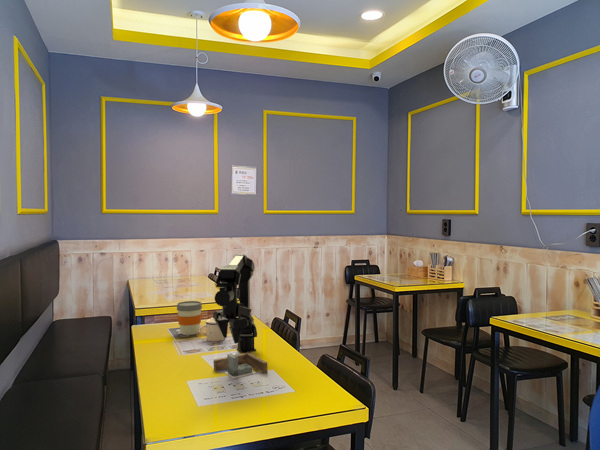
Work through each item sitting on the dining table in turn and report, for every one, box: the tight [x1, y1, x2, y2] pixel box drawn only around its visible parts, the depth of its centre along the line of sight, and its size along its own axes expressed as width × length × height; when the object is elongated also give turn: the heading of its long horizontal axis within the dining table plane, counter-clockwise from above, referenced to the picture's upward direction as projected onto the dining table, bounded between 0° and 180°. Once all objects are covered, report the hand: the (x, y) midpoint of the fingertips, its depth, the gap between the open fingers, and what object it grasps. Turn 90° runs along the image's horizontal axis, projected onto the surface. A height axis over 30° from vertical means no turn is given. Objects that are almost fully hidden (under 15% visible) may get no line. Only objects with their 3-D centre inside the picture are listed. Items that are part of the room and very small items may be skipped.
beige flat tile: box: [223, 370, 257, 379], centre depth 176 cm, size 10×8×1 cm
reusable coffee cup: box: [176, 300, 203, 336], centre depth 235 cm, size 13×13×15 cm
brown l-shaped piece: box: [213, 352, 269, 375], centre depth 178 cm, size 15×15×4 cm
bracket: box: [226, 353, 253, 377], centre depth 176 cm, size 8×5×7 cm, turn 124°
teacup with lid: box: [199, 316, 226, 343], centre depth 222 cm, size 12×9×12 cm
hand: (230, 340), depth 178 cm, fingers open, 9 cm apart
